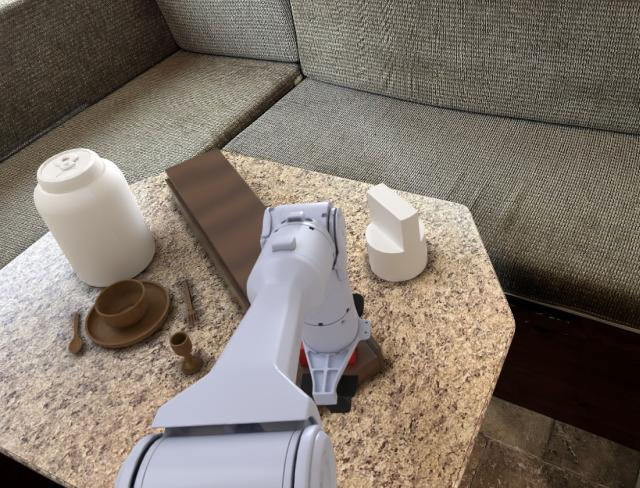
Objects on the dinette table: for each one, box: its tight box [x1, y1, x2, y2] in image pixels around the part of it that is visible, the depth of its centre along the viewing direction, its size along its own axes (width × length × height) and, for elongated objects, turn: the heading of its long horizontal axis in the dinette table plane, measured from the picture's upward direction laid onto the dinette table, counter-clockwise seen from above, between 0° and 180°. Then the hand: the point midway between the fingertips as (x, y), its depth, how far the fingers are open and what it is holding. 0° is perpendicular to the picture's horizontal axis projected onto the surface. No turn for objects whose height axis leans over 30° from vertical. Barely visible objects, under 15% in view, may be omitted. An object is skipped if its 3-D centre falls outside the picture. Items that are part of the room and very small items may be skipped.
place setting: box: [67, 278, 204, 375], centre depth 84 cm, size 18×20×6 cm
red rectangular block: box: [299, 339, 357, 366], centre depth 77 cm, size 7×3×4 cm, turn 89°
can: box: [32, 147, 156, 288], centre depth 93 cm, size 12×12×20 cm
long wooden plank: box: [164, 147, 385, 411], centre depth 93 cm, size 54×11×6 cm, turn 34°
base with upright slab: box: [364, 182, 428, 283], centre depth 90 cm, size 9×9×12 cm
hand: (343, 377), depth 67 cm, fingers open, 7 cm apart
